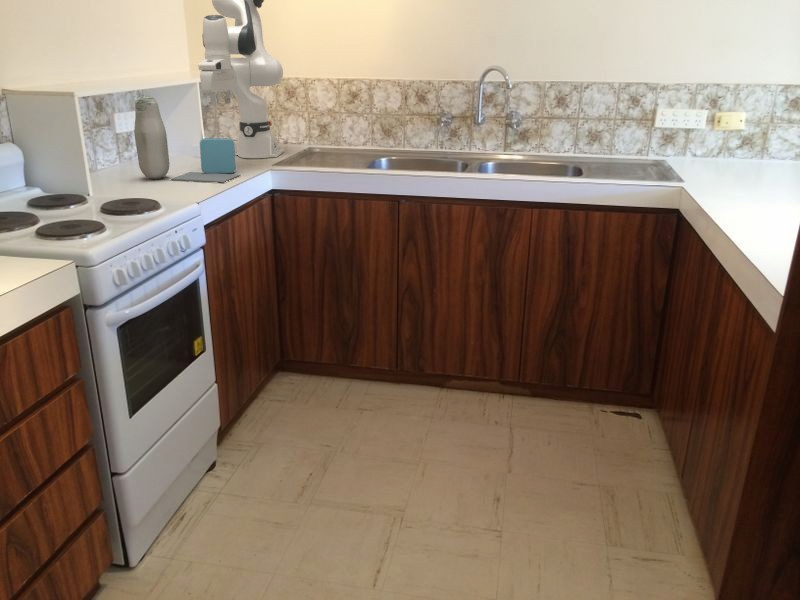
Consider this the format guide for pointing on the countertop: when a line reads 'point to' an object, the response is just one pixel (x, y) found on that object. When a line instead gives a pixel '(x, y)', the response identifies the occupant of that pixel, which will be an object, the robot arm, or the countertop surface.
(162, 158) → the grey bottle
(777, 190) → the countertop surface
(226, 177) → the mat
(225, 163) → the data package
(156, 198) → the countertop surface
